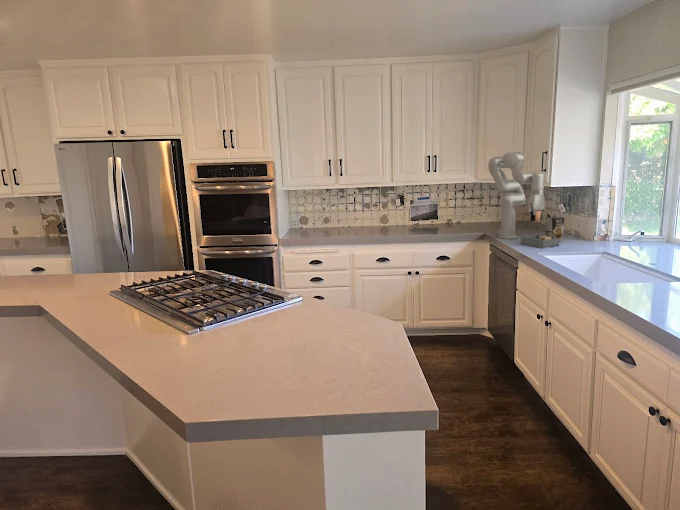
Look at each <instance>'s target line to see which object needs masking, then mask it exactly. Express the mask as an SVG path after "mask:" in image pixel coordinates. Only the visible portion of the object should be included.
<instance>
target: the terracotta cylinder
mask: <svg viewBox="0 0 680 510" xmlns="http://www.w3.org/2000/svg"><path fill="white" fill-rule="evenodd" d="M540 218H541V211H538V210H536V211H535V221H531V222H532V223H540V222H541V220H540Z"/></svg>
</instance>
